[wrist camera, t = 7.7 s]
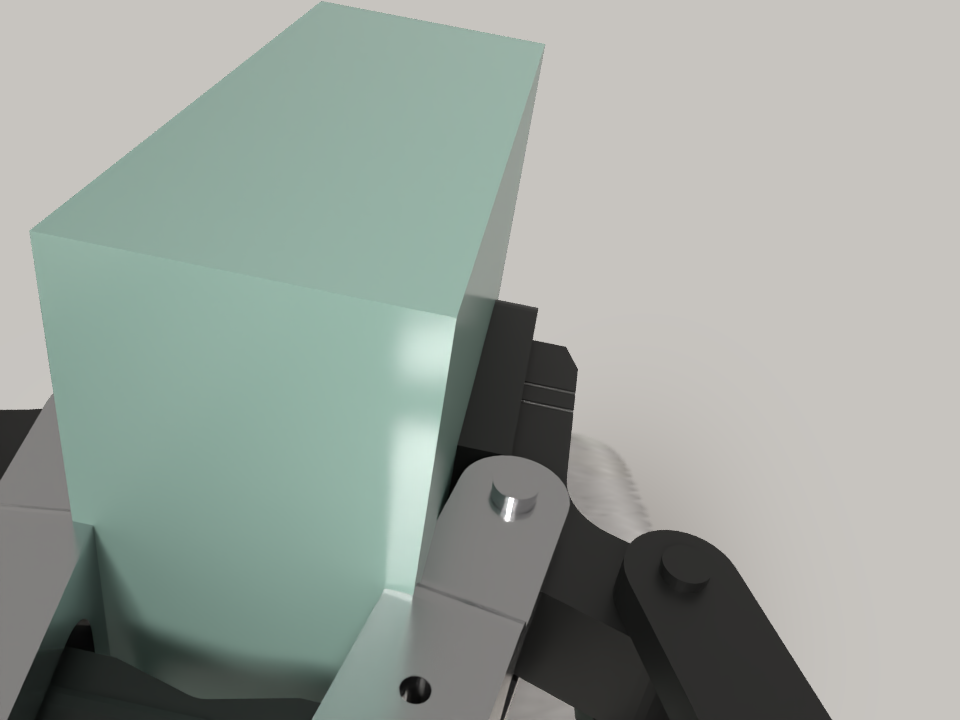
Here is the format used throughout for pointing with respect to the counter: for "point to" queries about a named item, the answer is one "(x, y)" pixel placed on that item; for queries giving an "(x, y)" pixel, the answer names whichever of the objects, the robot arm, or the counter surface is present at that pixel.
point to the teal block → (283, 341)
